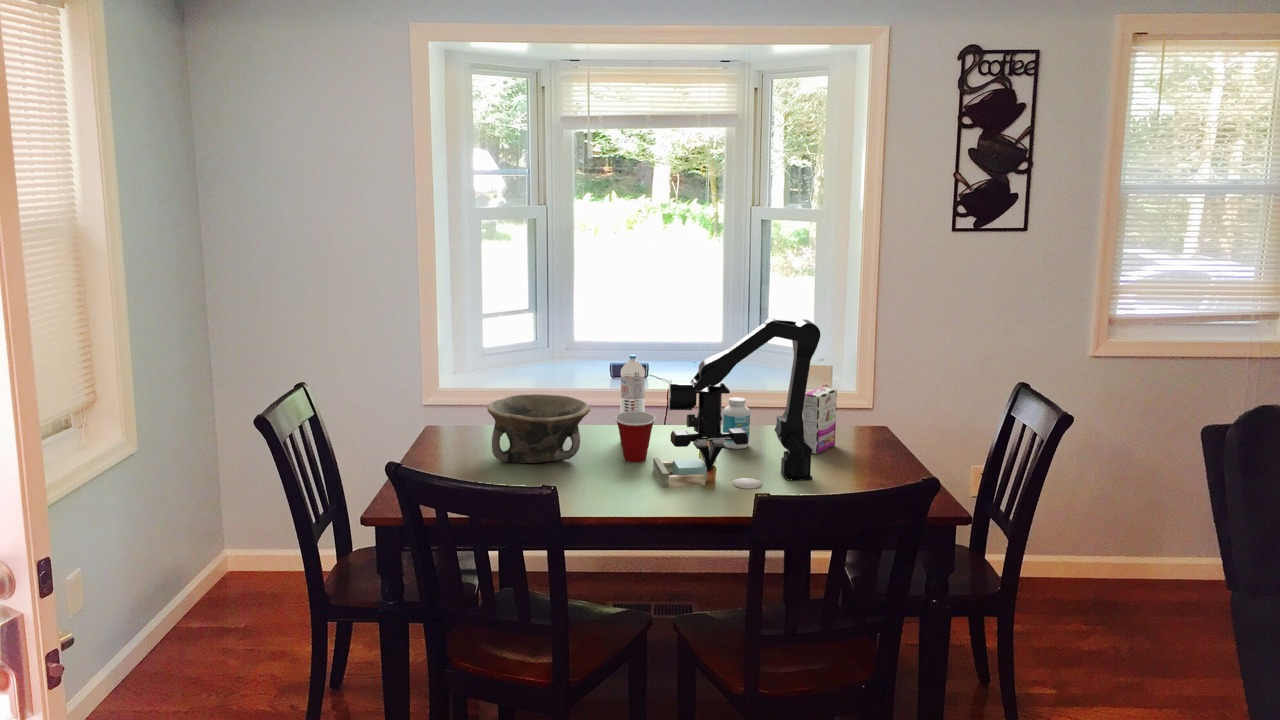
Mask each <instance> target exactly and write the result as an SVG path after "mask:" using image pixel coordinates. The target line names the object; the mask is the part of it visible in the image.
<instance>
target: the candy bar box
mask: <svg viewBox="0 0 1280 720" xmlns="http://www.w3.org/2000/svg"><path fill="white" fill-rule="evenodd" d="M837 391H838V389H835V388H832V387H819V388H817V389H814V390H812V391H809V392H807V393H805V399H804V406H803V412H802V418H803V426H804V439H805V440H806V442H807V443H808V444H809V446H810V447H811V448H812V450H813V451H812V453H814V455H819V454H821V453H823V452H825V451H827V450H829V449H831V448H833V447H834V446H836V428H837V427H836V424H837V420H836V419H837V418H836V417H837V397H838V396H837ZM828 448H829V449H828ZM826 449H827V450H826ZM824 450H825V451H824ZM822 451H823V452H822ZM820 452H821V453H820ZM812 453H811V454H812ZM818 453H819V454H818Z"/></svg>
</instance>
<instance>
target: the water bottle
mask: <svg viewBox="0 0 1280 720" xmlns="http://www.w3.org/2000/svg"><path fill="white" fill-rule="evenodd" d="M636 359H637V354H629V360H628V361H627V362H626V363H624V364H623V366H622V367H621V369H620V402H619V403H620V413H623V412H627V411H642V412H646V411H645V409H646V408H645V400H646V398H645V376H646V370H645V368H644V366H643V364H641V363H640V362H639V361H637V360H636Z"/></svg>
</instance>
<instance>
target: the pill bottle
mask: <svg viewBox="0 0 1280 720" xmlns="http://www.w3.org/2000/svg"><path fill="white" fill-rule="evenodd" d="M728 404H729V405H727V406H725V407H724V408H723V414H722V415H723V416H722V422H723V423H722V433H727V431H728V429H731V428H742V429H743V430H744V431H745V432H746V433H747V434H748V444H741V445H736V444H735V443H734V442H733V440H725V442H724V445H725V446H726V447H725V448H727V449H732V450H733V449H734V450H741V449H745V448H747V447H749V445H750V426H751V410H750V408H749V407H747V406H746V404H747V403H746V398H743V397H737V396H736V397H734V396H733V397H729V398H728Z"/></svg>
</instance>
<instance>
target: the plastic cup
mask: <svg viewBox="0 0 1280 720" xmlns="http://www.w3.org/2000/svg"><path fill="white" fill-rule="evenodd" d="M656 418H657V417H656V415H655V414H652V413H650V412H647V411H645V412H642V411H627V412H623V413H621V412H620V413H618V414H616V415H615V417H614V419H615V421H616V423H617V424H616V425H617V428H618V434H619V437H620V438H619V439H620V445H621V449H622V455H623V458H624V459H623V460H624V461H625V462H628V463H634V464H635V463H644V462H645V461H646V459H647V456H648V452H649V451H648V449H649V447H650V440H651V434H652V430H653V425H654V423H655V421H656Z"/></svg>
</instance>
